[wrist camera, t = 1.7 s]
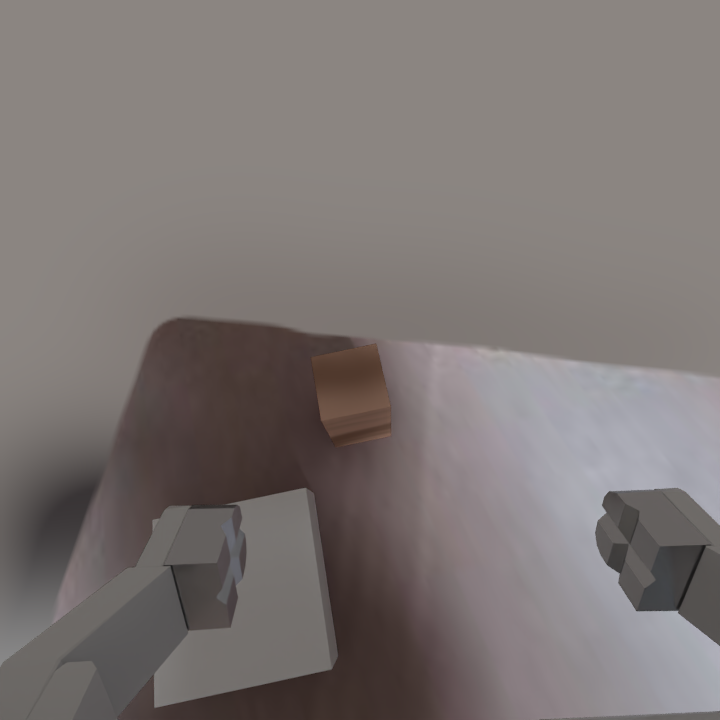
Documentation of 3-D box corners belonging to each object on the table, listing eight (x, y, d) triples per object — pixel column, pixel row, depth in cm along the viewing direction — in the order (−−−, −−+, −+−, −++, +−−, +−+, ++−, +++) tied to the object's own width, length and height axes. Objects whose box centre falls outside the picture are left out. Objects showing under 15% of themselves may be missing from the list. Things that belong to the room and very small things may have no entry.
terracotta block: (390, 436, 40) (390, 406, 32) (335, 447, 40) (321, 420, 31) (379, 384, 42) (376, 343, 33) (326, 395, 42) (310, 357, 33)
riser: (338, 656, 34) (331, 669, 30) (180, 690, 33) (154, 708, 30) (314, 493, 38) (305, 487, 35) (175, 522, 38) (152, 519, 34)
